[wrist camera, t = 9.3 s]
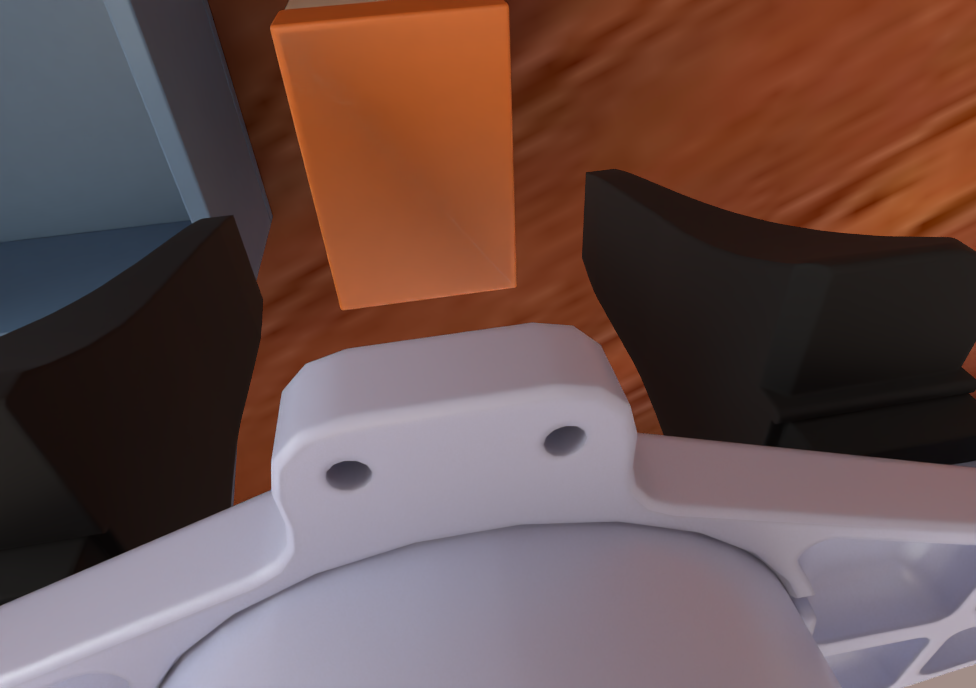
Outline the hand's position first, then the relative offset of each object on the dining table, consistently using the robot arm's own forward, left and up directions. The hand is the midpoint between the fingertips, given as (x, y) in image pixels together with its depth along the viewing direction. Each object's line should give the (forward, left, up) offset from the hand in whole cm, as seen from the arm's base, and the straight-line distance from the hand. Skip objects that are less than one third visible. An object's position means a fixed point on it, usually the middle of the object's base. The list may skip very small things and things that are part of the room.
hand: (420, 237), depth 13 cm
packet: (+1, 0, -9) cm, 9 cm away
